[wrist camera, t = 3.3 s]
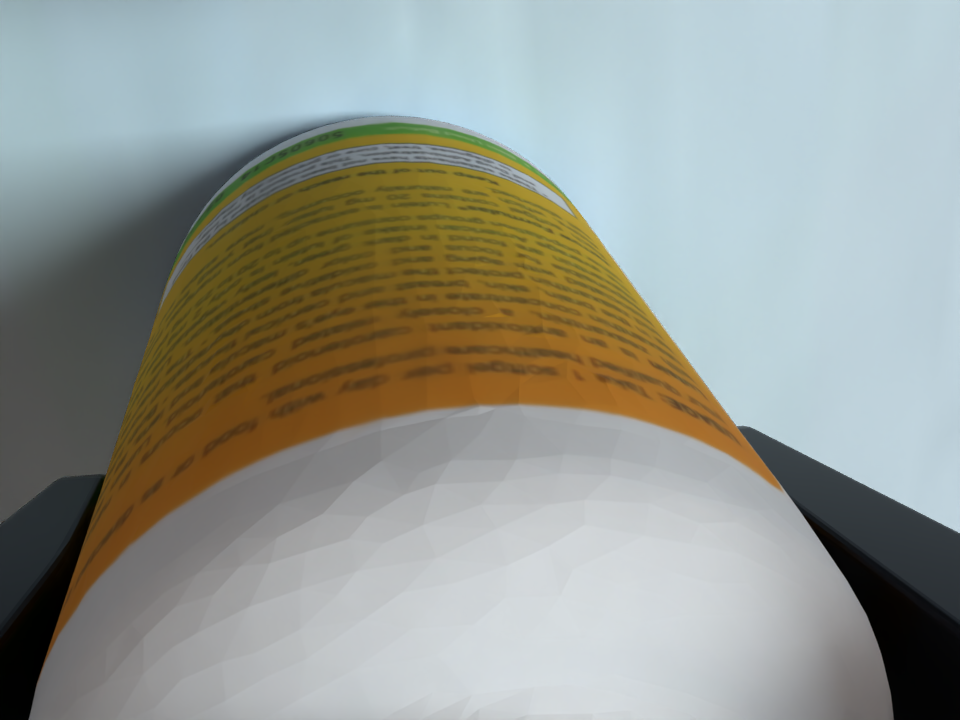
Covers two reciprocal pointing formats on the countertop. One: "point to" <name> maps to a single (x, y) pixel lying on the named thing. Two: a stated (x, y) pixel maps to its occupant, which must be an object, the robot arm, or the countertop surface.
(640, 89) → the countertop surface
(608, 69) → the countertop surface
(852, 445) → the countertop surface
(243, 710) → the supplement bottle
